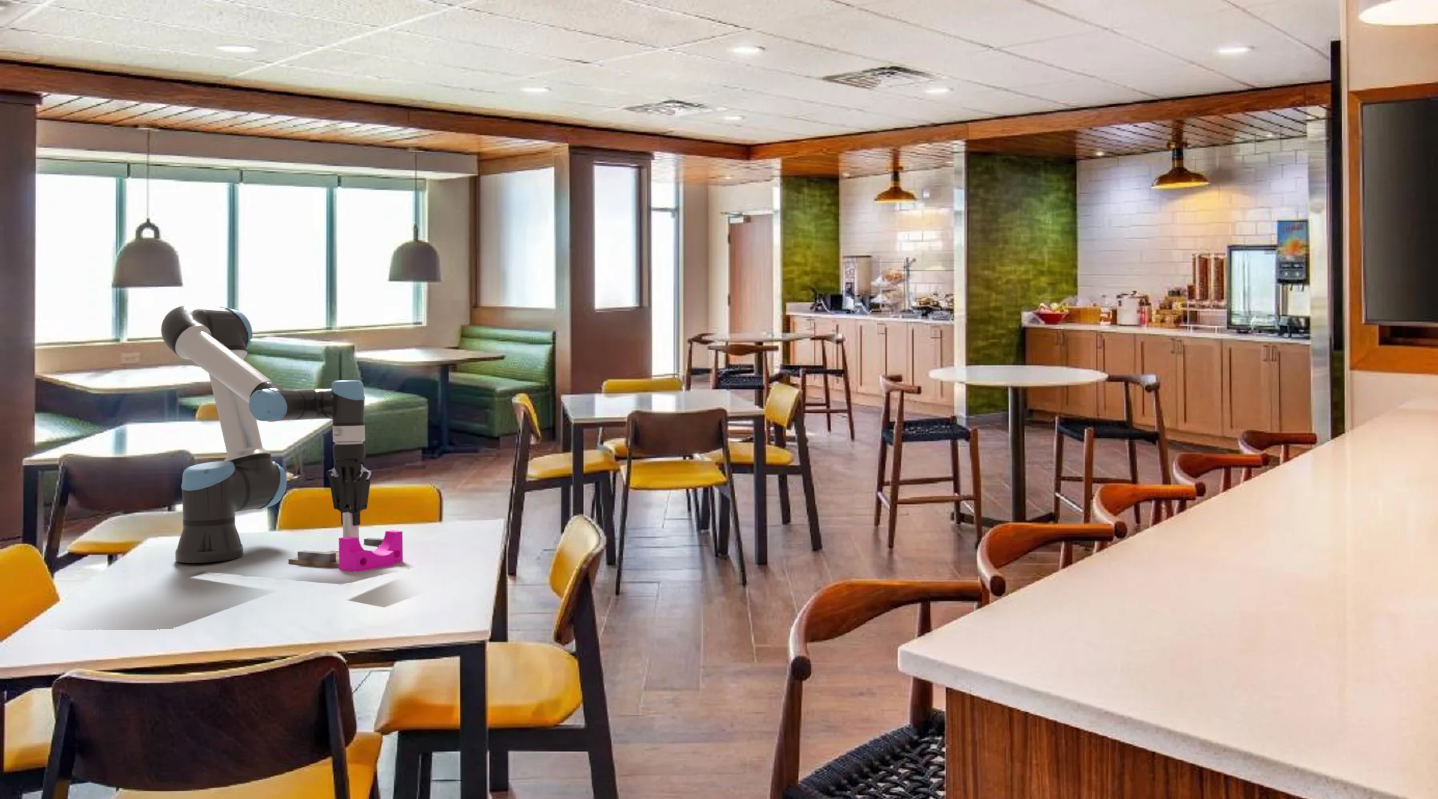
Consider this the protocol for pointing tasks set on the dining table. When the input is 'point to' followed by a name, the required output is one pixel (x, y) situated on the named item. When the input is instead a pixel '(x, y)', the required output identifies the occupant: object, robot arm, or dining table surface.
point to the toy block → (370, 553)
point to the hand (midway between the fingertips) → (351, 538)
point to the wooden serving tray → (325, 556)
